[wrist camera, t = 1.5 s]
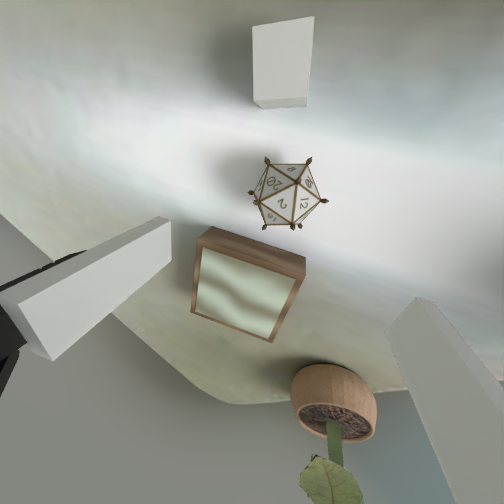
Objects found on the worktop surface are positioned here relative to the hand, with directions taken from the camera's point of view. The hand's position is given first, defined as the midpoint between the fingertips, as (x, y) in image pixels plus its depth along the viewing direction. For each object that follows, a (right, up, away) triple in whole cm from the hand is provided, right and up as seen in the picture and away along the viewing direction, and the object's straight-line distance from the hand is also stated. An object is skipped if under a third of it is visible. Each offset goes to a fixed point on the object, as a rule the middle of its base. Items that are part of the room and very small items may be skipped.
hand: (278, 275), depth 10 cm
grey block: (+2, +20, +10) cm, 23 cm away
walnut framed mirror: (-2, -4, +25) cm, 25 cm away
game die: (+4, +10, +16) cm, 19 cm away
